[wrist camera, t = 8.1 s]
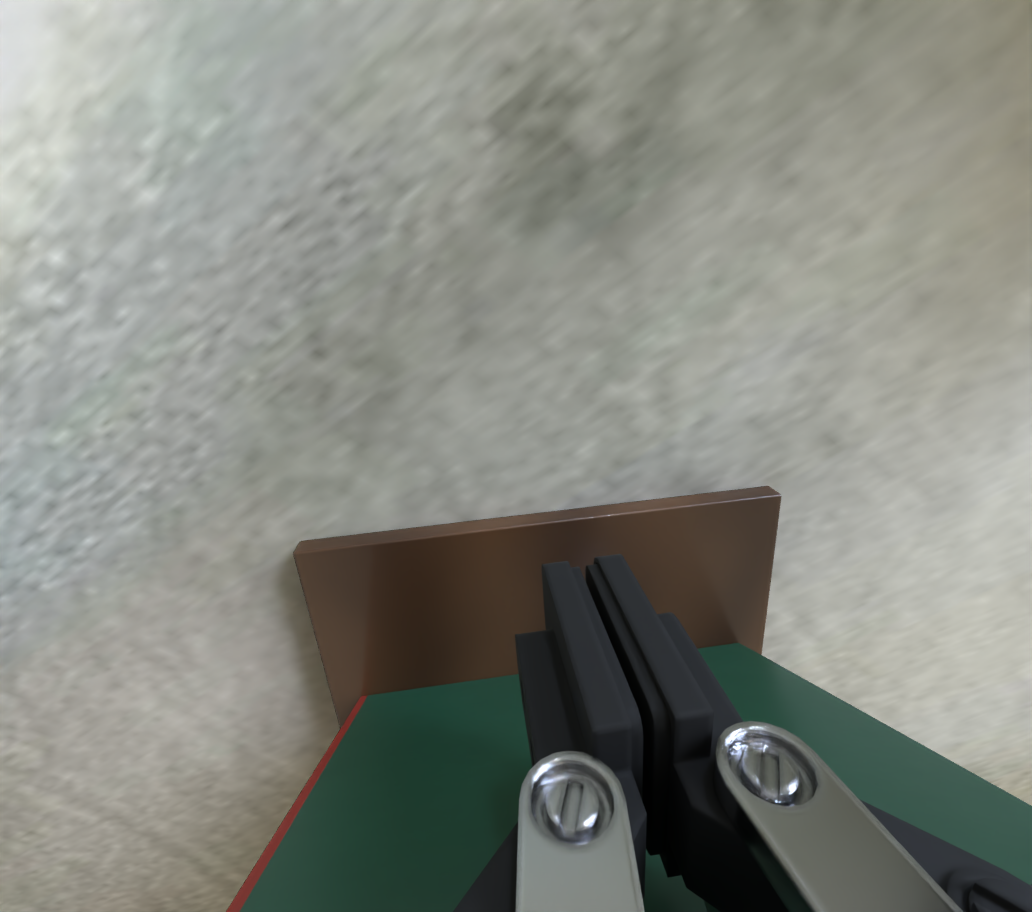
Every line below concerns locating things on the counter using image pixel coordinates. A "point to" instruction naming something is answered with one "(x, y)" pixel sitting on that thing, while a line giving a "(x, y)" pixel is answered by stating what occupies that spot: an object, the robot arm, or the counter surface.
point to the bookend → (526, 585)
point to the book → (506, 762)
